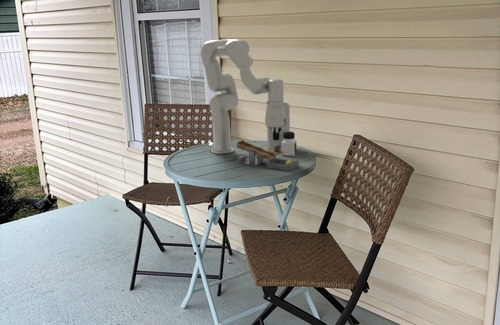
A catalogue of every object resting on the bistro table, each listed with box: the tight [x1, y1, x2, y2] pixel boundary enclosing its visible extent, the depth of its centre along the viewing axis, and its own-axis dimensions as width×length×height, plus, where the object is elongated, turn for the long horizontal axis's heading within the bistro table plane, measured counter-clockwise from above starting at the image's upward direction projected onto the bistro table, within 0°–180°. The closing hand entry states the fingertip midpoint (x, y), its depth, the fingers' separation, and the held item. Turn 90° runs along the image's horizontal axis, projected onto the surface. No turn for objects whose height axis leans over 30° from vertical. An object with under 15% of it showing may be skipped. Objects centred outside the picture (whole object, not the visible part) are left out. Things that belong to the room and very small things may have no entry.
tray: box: [266, 157, 300, 172], centre depth 248 cm, size 13×10×4 cm
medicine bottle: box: [281, 130, 297, 157], centre depth 271 cm, size 7×7×12 cm
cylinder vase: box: [266, 102, 291, 151], centre depth 282 cm, size 12×12×25 cm
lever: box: [235, 139, 283, 161], centre depth 258 cm, size 20×16×4 cm
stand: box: [235, 147, 266, 167], centre depth 257 cm, size 12×9×7 cm
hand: (276, 139), depth 259 cm, fingers closed
